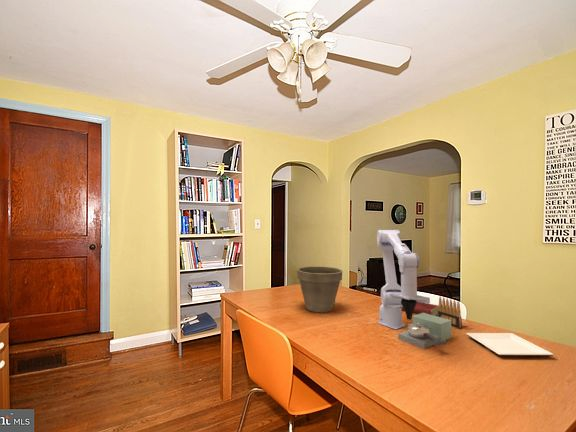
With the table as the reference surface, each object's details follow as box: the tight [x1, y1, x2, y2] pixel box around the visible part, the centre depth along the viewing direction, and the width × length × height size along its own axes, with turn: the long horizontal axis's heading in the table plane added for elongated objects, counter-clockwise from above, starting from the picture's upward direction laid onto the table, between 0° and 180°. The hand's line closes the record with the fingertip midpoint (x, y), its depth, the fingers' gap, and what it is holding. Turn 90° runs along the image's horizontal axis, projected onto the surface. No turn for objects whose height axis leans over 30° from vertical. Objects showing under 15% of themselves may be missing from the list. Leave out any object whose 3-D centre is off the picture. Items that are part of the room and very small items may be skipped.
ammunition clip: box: [437, 295, 463, 330], centre depth 129 cm, size 11×2×12 cm, turn 25°
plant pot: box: [296, 265, 343, 313], centre depth 155 cm, size 25×25×22 cm
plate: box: [465, 332, 555, 357], centre depth 105 cm, size 19×19×2 cm
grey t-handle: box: [407, 322, 447, 346], centre depth 108 cm, size 16×8×4 cm, turn 11°
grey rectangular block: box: [397, 313, 453, 350], centre depth 114 cm, size 12×19×7 cm, turn 124°
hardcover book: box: [402, 302, 439, 316], centre depth 150 cm, size 12×21×4 cm, turn 43°
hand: (409, 318), depth 110 cm, fingers closed
